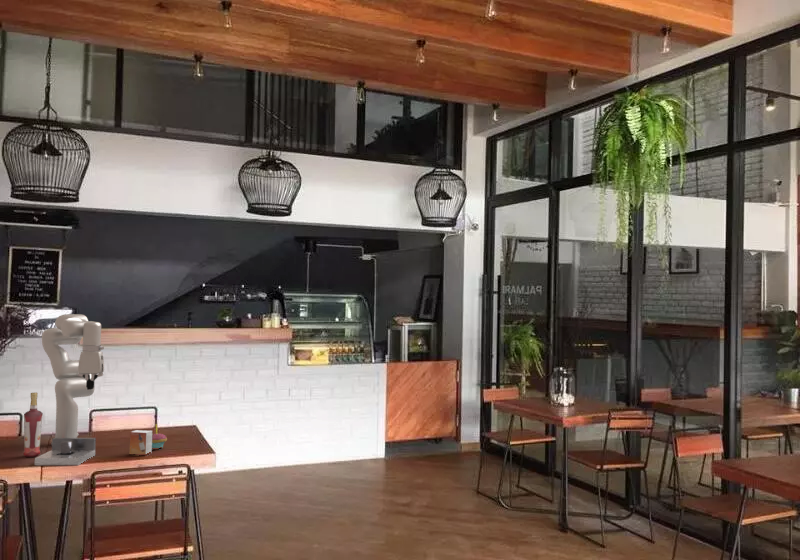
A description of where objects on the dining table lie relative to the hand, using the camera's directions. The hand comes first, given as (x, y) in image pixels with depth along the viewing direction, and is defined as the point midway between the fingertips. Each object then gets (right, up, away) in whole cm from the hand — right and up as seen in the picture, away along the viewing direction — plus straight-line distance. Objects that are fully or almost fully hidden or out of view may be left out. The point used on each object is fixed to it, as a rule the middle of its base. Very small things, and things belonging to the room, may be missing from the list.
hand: (90, 389), depth 306 cm
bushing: (-4, -29, -15) cm, 33 cm away
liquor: (-22, -29, -9) cm, 37 cm away
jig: (-3, -29, -15) cm, 33 cm away
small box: (+24, -30, -1) cm, 38 cm away
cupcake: (+27, -30, +11) cm, 42 cm away
